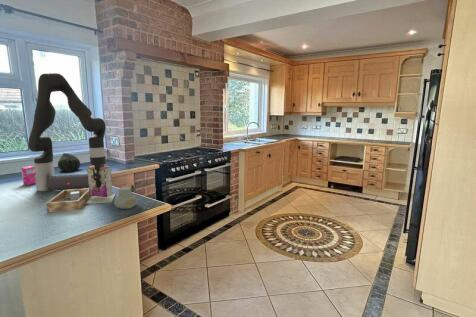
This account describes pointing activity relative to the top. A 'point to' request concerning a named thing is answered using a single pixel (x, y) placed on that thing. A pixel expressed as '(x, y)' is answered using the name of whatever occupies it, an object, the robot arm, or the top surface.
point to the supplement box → (28, 175)
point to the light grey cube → (75, 195)
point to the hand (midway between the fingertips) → (100, 185)
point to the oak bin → (58, 205)
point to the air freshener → (125, 198)
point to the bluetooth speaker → (68, 182)
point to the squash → (68, 162)
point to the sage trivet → (100, 199)
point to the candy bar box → (105, 182)
